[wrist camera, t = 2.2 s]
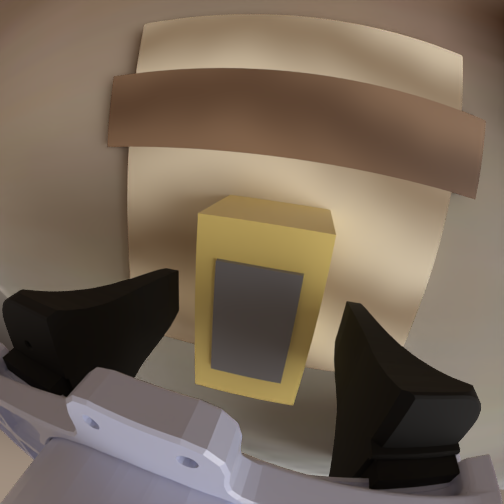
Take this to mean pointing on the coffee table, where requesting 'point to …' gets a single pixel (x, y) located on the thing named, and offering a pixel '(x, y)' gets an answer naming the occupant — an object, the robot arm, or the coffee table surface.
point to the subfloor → (297, 150)
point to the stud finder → (258, 294)
